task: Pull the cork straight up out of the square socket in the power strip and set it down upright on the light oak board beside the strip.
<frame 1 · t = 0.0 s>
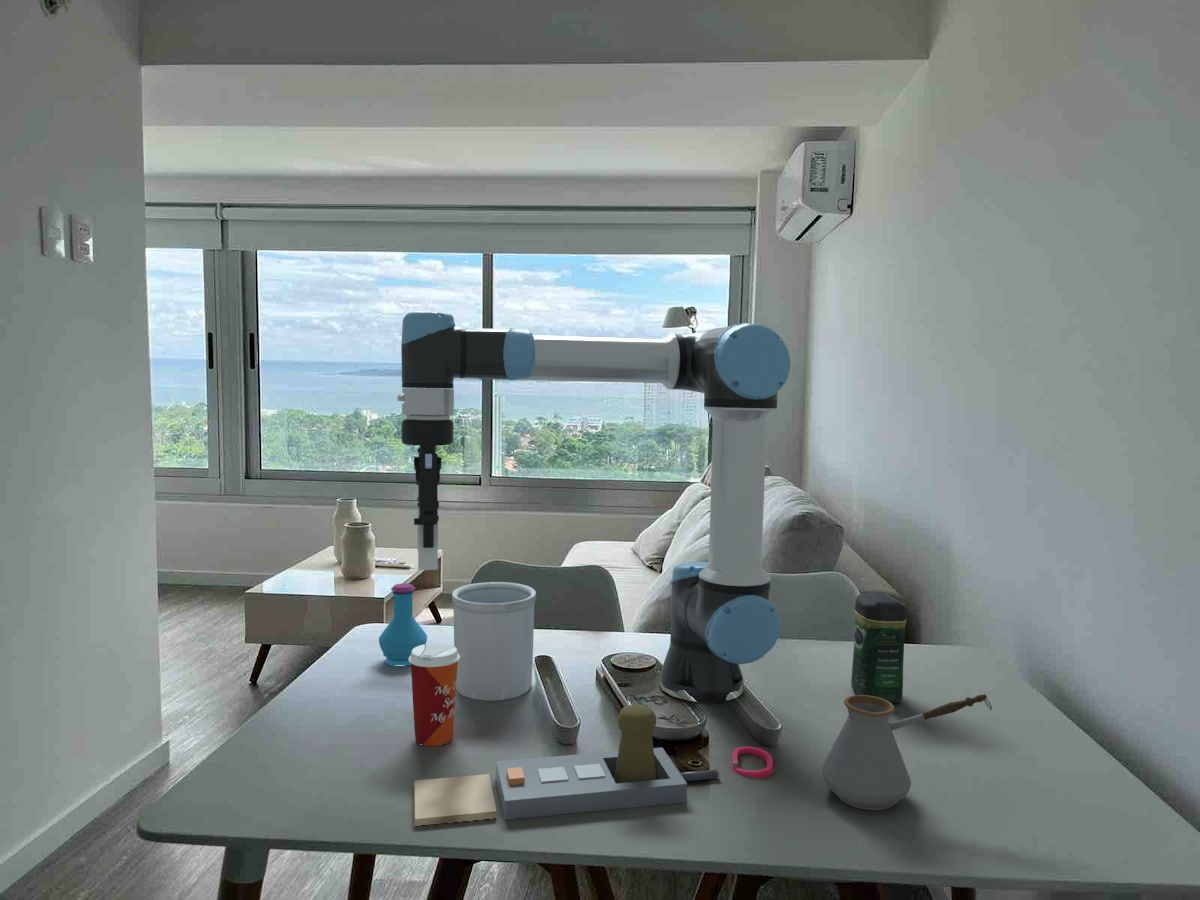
hand: (427, 559, 123), 28 cm above the table, tool pointing down, fingers open, 13 cm apart
power strip: (589, 790, 111), on the table
coffee jar: (876, 697, 147), on the table
utensil holder: (493, 688, 147), on the table
coffee pot: (902, 800, 110), on the table
paper cup: (434, 740, 125), on the table
perfume bottle: (403, 661, 160), on the table
oak board: (453, 802, 106), on the table
cork: (635, 787, 112), resting in power strip
fitness band: (752, 768, 119), on the table
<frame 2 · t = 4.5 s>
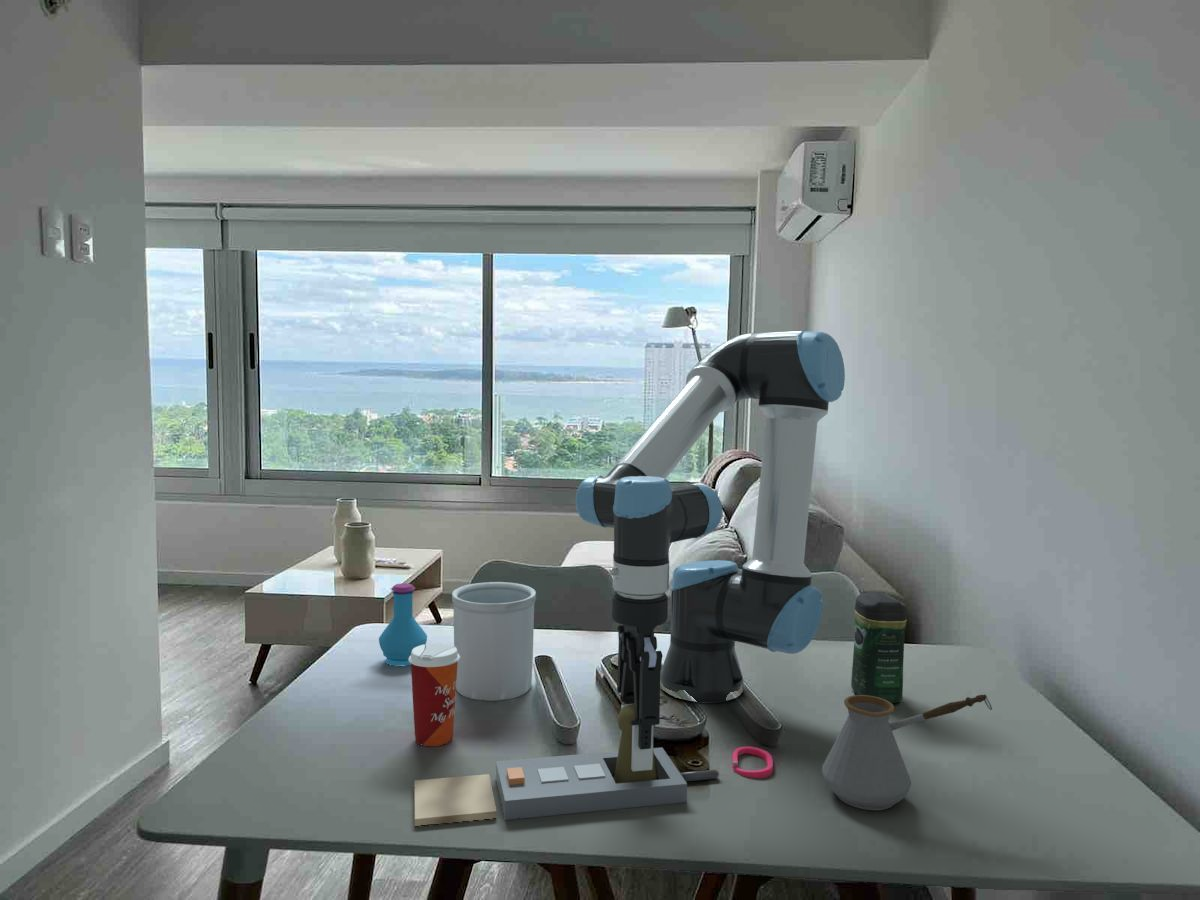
hand: (635, 758, 112), 4 cm above the table, tool pointing down, fingers closed on cork, 5 cm apart
cork: (635, 787, 112), resting in power strip, touching gripper
everything else where it was.
when the fingers open (6 cm above the table, at t = 11.0 s): cork drops 1 cm, resting on oak board.
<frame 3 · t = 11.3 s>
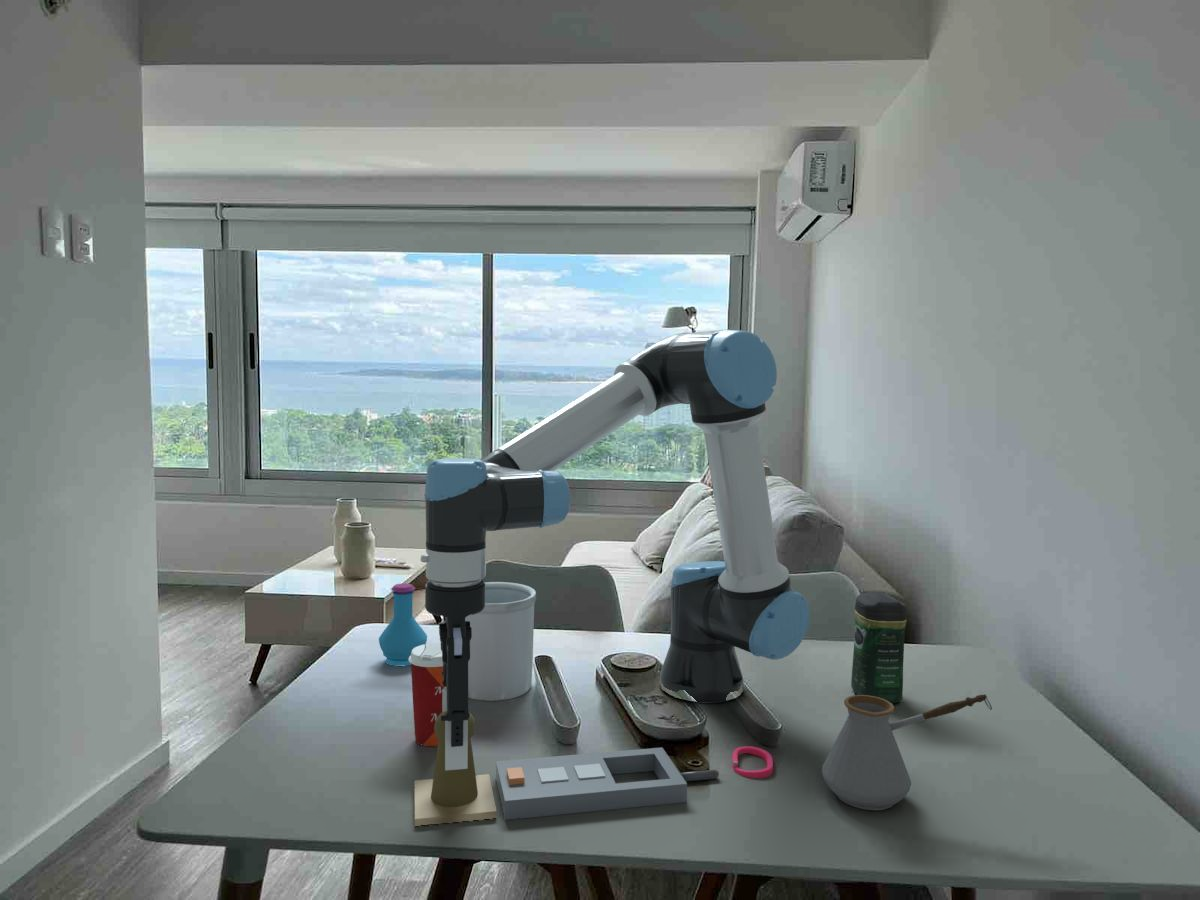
hand: (454, 751, 106), 7 cm above the table, tool pointing down, fingers open, 9 cm apart
cork: (454, 796, 106), point 1 cm above the table, touching oak board
everything else where it was.
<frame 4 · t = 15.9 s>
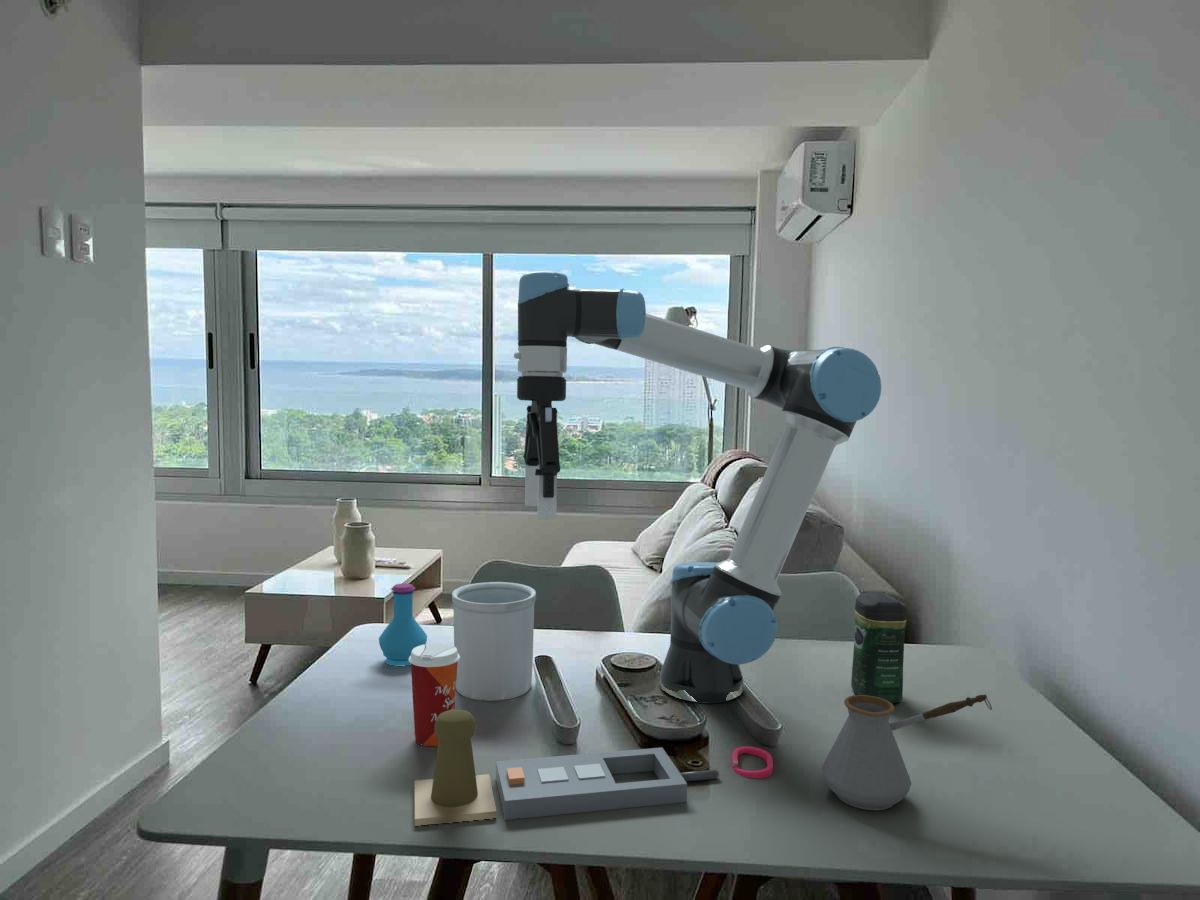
hand: (539, 512, 127), 35 cm above the table, tool pointing down, fingers open, 13 cm apart
nothing on the table moved.
at the end: cork inside the target area on the oak board (0.1 cm from its centre), point 0.8 cm above the oak board's base; cork tilted 0°; the gripper is holding nothing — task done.
